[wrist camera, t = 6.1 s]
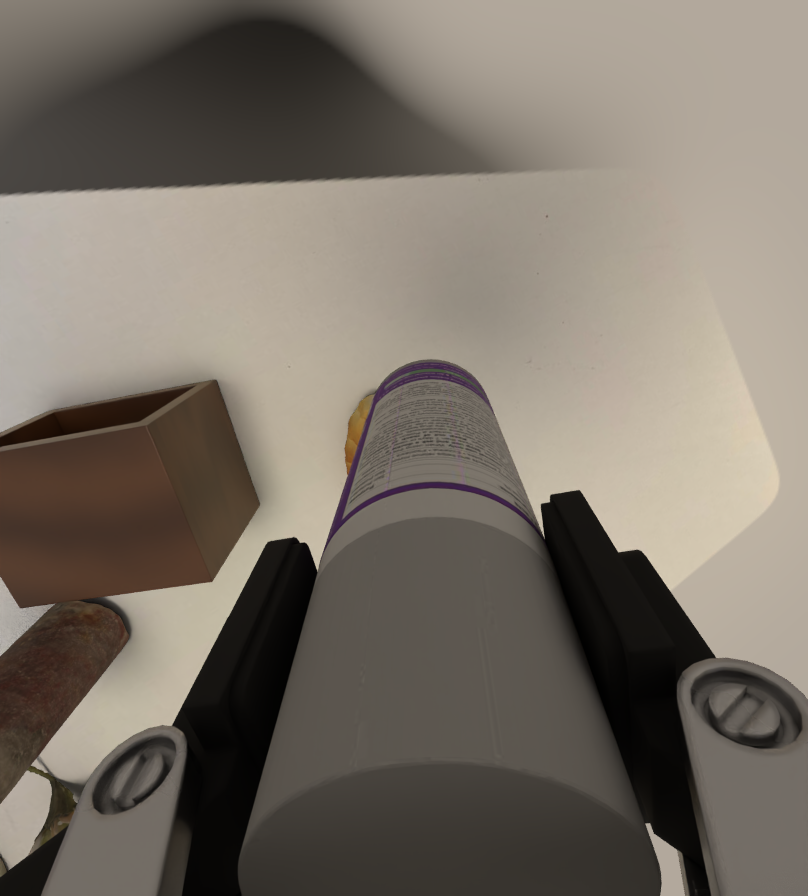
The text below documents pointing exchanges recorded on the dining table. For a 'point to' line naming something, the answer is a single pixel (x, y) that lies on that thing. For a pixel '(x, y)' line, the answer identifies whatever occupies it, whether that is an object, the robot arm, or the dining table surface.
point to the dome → (2, 868)
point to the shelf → (121, 496)
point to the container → (441, 686)
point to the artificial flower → (55, 810)
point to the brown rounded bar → (51, 679)
